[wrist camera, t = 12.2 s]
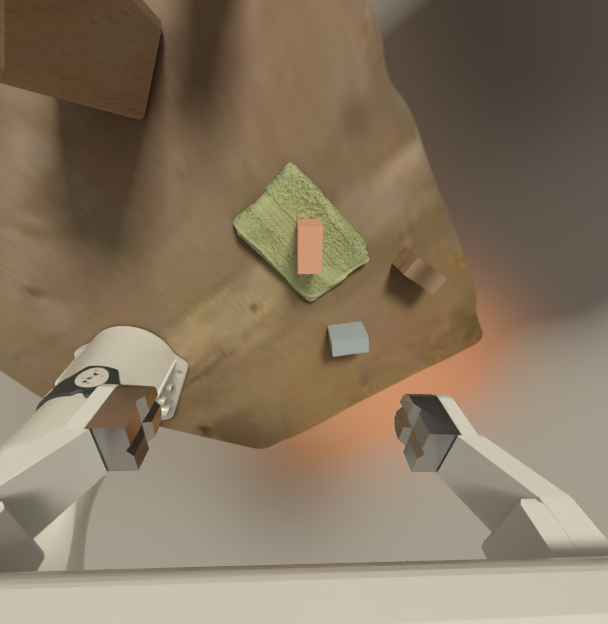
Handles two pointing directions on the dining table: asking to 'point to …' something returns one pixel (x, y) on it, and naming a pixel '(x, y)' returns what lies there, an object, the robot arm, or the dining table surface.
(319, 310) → the dining table surface
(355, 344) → the brick slate
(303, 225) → the brick terracotta
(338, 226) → the washcloth
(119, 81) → the block
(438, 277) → the brick walnut
